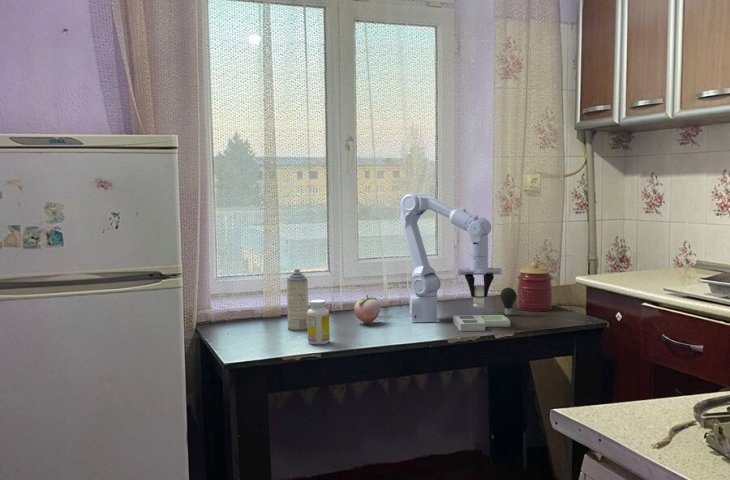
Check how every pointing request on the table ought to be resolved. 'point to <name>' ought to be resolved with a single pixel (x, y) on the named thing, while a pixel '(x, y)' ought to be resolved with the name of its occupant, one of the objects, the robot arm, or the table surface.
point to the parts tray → (495, 320)
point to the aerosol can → (297, 301)
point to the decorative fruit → (367, 309)
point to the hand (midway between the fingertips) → (478, 296)
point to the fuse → (479, 296)
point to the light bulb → (508, 299)
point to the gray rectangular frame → (468, 323)
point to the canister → (534, 288)
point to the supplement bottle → (318, 323)
